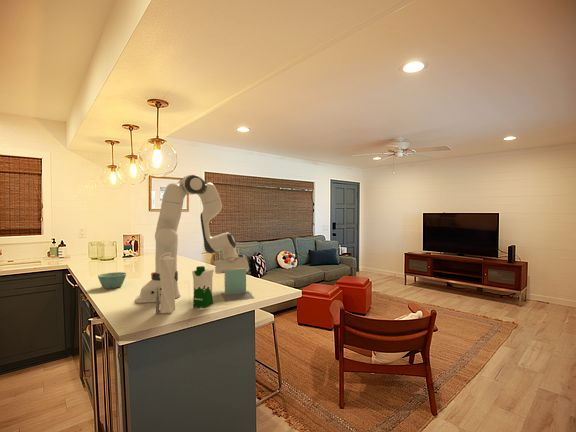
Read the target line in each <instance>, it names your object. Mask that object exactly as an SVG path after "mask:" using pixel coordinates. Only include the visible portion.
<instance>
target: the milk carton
mask: <svg viewBox="0 0 576 432" xmlns="http://www.w3.org/2000/svg"><path fill="white" fill-rule="evenodd" d="M191 272H192V278H193V283H192V284H193V286H192V287H193V298H192V300H193V302H192V306H193V307H192V308H202V309H206V308H208V307H209V306H211V305H212V304H214V300H213V299H214V298H213V275H214V272H215V269H214V268H213V269H211V268H209V269H208V268H206V267H205V266H203V265H201V266H196V269H195V270H192V271H191Z"/></svg>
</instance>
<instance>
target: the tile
mask: <svg viewBox="0 0 576 432" xmlns="http://www.w3.org/2000/svg"><path fill="white" fill-rule="evenodd" d="M223 274H224V293H225V295H229V294H240V293H246V291H247V272H246V268H237V269H224V273H223Z"/></svg>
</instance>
